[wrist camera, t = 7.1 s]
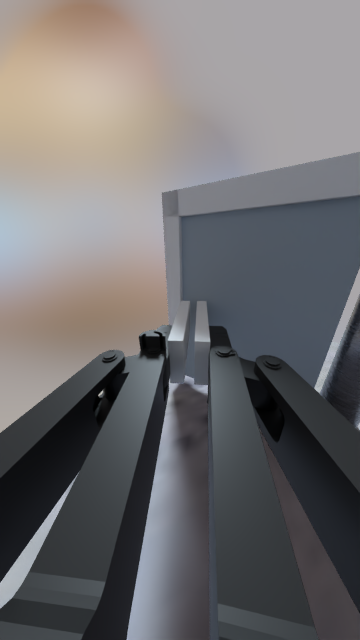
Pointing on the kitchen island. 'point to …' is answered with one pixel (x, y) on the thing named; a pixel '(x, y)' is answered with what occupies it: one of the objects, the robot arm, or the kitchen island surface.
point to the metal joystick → (346, 372)
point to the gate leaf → (268, 258)
